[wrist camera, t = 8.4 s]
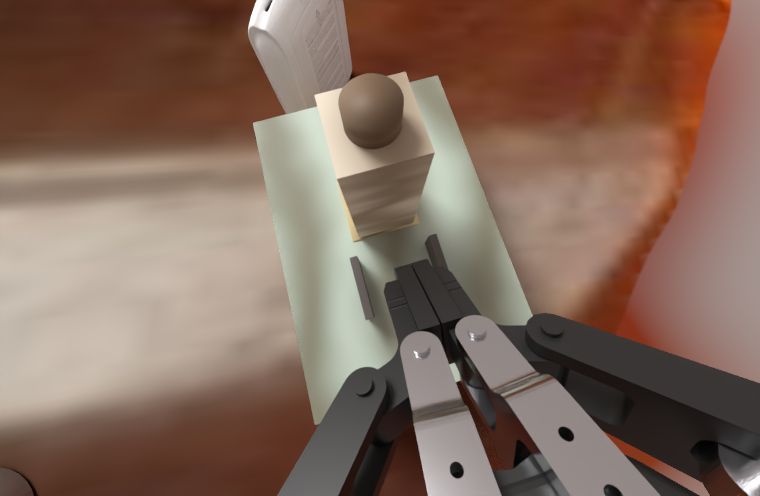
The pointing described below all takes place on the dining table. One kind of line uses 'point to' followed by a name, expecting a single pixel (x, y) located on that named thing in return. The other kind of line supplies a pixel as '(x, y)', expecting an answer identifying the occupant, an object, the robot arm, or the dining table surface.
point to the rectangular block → (375, 244)
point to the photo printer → (301, 48)
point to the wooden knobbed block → (377, 149)
